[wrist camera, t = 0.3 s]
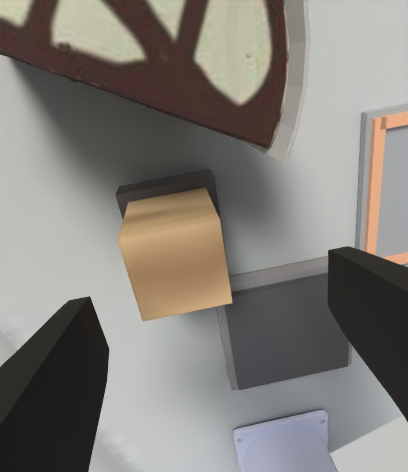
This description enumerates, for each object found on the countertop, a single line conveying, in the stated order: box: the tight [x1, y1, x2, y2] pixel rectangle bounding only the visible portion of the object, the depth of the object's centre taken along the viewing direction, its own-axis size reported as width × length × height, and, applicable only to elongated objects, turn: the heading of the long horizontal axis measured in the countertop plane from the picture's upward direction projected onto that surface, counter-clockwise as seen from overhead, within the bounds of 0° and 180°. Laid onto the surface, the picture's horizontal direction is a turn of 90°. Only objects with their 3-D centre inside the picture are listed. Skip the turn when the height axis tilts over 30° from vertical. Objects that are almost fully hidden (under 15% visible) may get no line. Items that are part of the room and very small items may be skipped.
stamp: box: [116, 170, 232, 321], centre depth 16 cm, size 5×5×6 cm
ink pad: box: [216, 256, 352, 390], centre depth 22 cm, size 9×9×2 cm
